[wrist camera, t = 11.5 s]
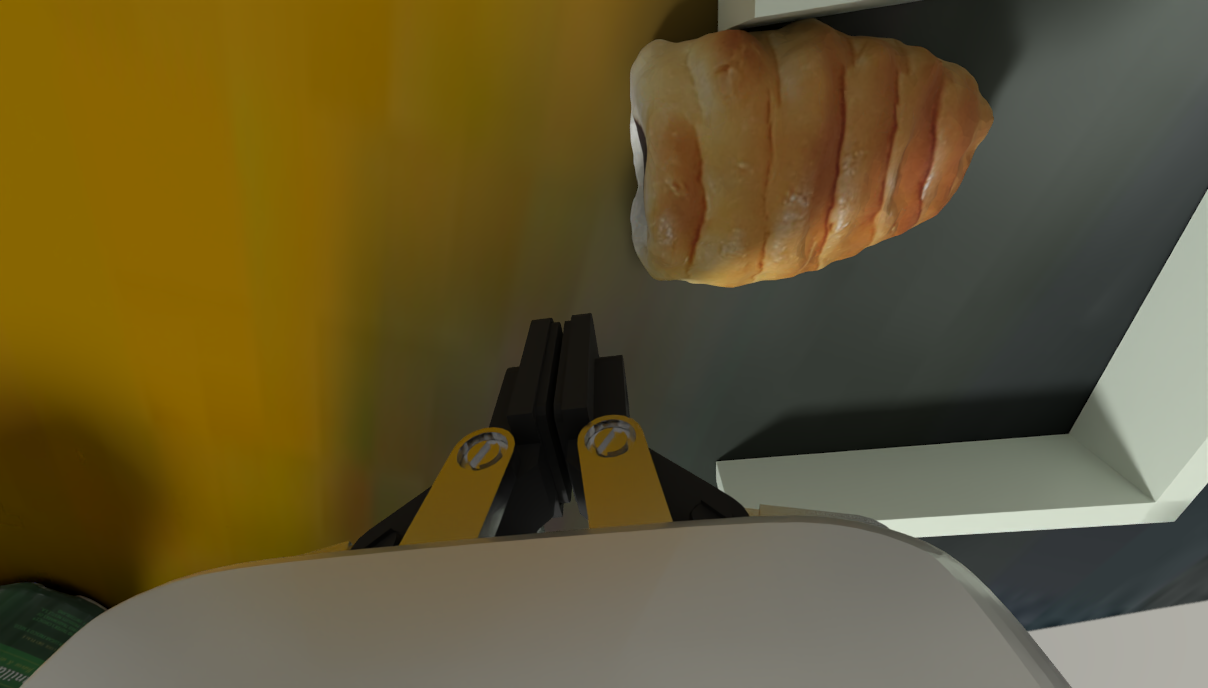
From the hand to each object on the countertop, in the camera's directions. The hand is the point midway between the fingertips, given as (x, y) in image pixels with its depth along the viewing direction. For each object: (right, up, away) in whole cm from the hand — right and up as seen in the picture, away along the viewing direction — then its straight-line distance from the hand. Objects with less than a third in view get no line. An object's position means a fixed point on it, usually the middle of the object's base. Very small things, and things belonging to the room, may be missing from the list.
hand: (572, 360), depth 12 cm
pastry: (+6, +6, +1) cm, 9 cm away
